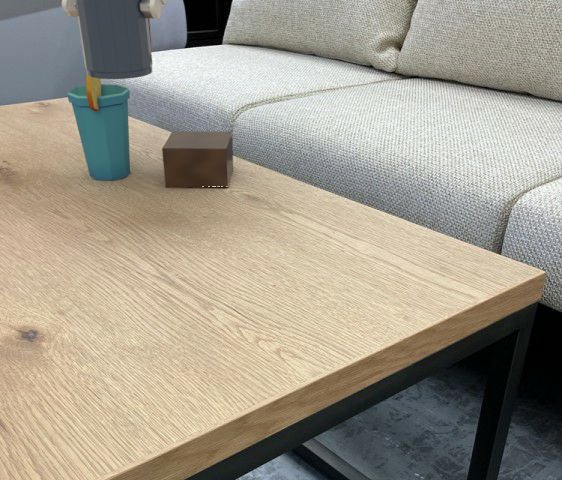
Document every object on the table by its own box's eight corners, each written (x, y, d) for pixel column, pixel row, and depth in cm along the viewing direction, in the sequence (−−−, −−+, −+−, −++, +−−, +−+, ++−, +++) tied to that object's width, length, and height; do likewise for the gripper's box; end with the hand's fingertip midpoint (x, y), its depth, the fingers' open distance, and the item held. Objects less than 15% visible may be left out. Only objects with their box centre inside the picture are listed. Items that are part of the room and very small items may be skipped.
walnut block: (165, 187, 90) (161, 148, 87) (175, 168, 96) (172, 131, 93) (227, 188, 89) (226, 148, 87) (233, 168, 96) (231, 131, 93)
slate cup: (79, 79, 68) (60, -41, 62) (95, 66, 73) (80, -45, 67) (145, 79, 67) (133, -42, 62) (157, 66, 73) (147, -46, 67)
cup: (77, 160, 99) (58, 44, 91) (132, 155, 101) (118, 41, 93) (83, 191, 88) (62, 63, 80) (145, 185, 90) (130, 59, 82)
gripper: (245, -83, 70) (222, 38, 68) (59, -83, 74) (30, 32, 72) (231, -140, 64) (204, -9, 62) (29, -137, 68) (-4, -13, 66)
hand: (109, 13), depth 67 cm, fingers closed on slate cup, 6 cm apart
